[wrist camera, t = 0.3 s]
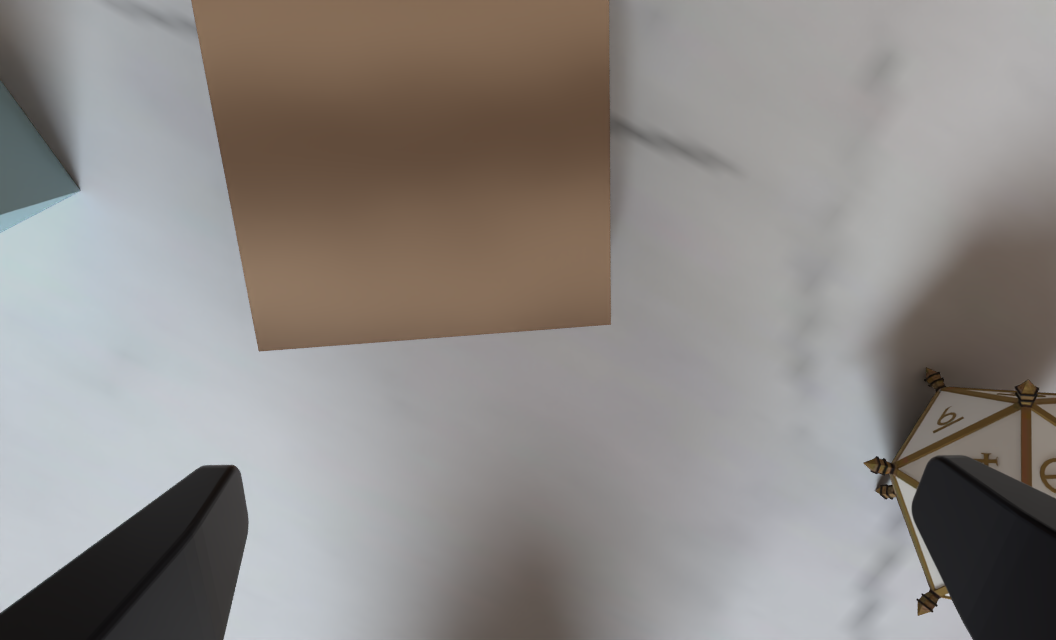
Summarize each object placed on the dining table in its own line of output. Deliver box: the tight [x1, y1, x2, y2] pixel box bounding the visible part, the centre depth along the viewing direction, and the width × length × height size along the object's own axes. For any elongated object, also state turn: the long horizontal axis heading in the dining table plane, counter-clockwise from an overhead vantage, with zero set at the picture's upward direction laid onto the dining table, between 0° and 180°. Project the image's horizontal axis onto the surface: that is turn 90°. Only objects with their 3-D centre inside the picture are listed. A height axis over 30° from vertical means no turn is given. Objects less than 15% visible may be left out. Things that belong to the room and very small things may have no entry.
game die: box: [864, 367, 1056, 616], centre depth 22 cm, size 9×8×10 cm
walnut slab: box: [191, 0, 611, 351], centre depth 19 cm, size 10×10×3 cm
